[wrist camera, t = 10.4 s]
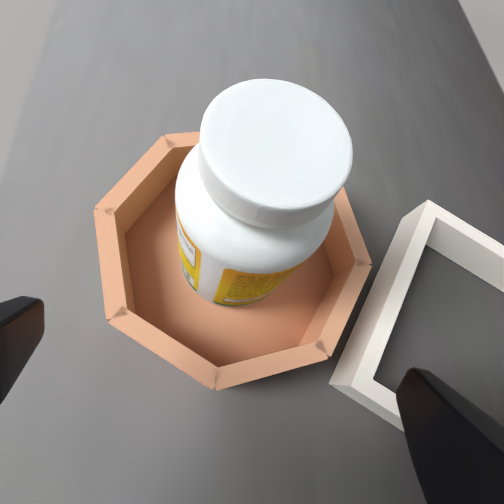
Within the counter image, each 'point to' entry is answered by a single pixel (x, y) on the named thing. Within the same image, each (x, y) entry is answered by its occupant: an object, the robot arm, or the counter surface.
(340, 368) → the tray
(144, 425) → the counter surface
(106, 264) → the bowl
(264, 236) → the supplement bottle
